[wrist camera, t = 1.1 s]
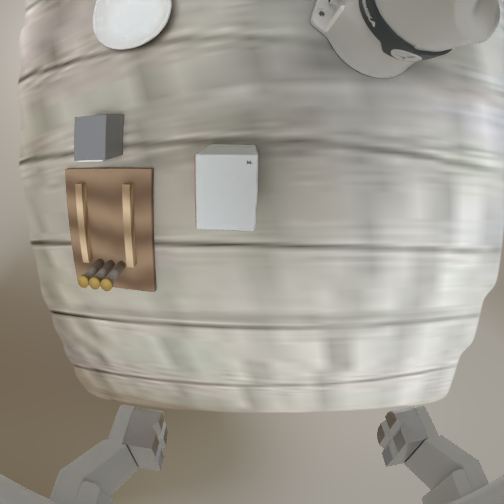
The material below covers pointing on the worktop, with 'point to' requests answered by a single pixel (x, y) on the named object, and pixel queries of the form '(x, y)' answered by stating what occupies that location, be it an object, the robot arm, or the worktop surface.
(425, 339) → the worktop surface
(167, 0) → the spoon rest
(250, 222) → the small box
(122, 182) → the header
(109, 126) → the grey block
